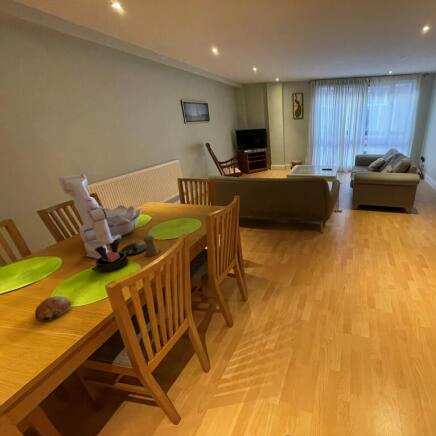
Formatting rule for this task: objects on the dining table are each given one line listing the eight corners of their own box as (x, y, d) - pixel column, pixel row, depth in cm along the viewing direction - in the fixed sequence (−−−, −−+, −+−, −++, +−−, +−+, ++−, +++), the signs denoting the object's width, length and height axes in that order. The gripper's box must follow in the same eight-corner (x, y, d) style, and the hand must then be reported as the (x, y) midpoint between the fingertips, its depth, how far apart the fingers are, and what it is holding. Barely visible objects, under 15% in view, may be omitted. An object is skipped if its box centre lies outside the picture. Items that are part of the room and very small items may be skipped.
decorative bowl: (99, 250, 137) (91, 226, 132) (83, 236, 154) (75, 214, 148) (153, 232, 160) (148, 211, 154) (134, 221, 176) (129, 202, 171)
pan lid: (115, 253, 134) (113, 245, 132) (136, 242, 146) (134, 235, 144) (133, 257, 130) (131, 249, 129) (154, 246, 142) (152, 238, 140)
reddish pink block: (102, 260, 120) (101, 255, 119) (111, 256, 124) (109, 251, 123) (111, 262, 119) (109, 257, 118) (120, 257, 123) (118, 252, 122)
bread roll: (78, 312, 97) (78, 292, 98) (53, 322, 87) (54, 300, 88) (52, 313, 97) (53, 293, 98) (25, 323, 87) (26, 300, 87)
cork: (145, 256, 131) (140, 238, 127) (148, 251, 136) (143, 233, 132) (157, 255, 132) (153, 237, 128) (159, 249, 138) (155, 232, 134)
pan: (86, 273, 117) (83, 265, 115) (120, 255, 133) (118, 247, 131) (104, 277, 113) (102, 269, 112) (137, 258, 129) (135, 251, 127)
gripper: (92, 240, 108) (101, 265, 113) (122, 227, 121) (129, 251, 126) (82, 238, 110) (91, 263, 116) (112, 226, 123) (119, 249, 128)
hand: (110, 256), depth 121 cm, fingers closed on reddish pink block, 4 cm apart
